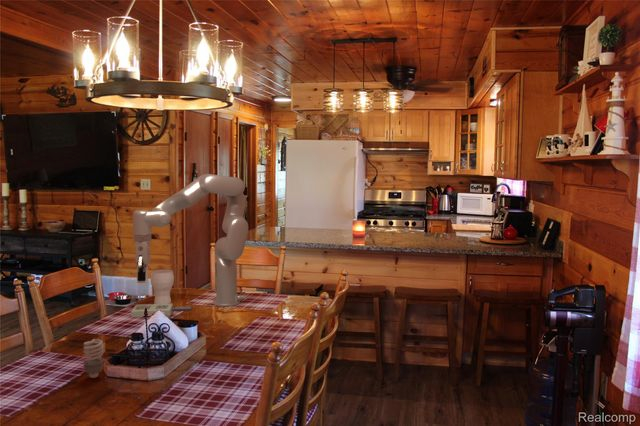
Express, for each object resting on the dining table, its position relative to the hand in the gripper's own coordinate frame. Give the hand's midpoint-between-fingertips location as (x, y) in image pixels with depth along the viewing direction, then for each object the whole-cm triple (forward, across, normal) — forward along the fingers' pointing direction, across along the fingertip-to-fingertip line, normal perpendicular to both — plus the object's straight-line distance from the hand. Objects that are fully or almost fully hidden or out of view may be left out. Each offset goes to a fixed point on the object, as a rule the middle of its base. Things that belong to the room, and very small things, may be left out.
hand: (142, 279), depth 227 cm
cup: (+15, +18, -6) cm, 25 cm away
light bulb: (+16, -72, +3) cm, 74 cm away
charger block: (+1, 0, 0) cm, 1 cm away
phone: (+16, +5, -17) cm, 23 cm away
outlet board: (+15, 0, -4) cm, 16 cm away
